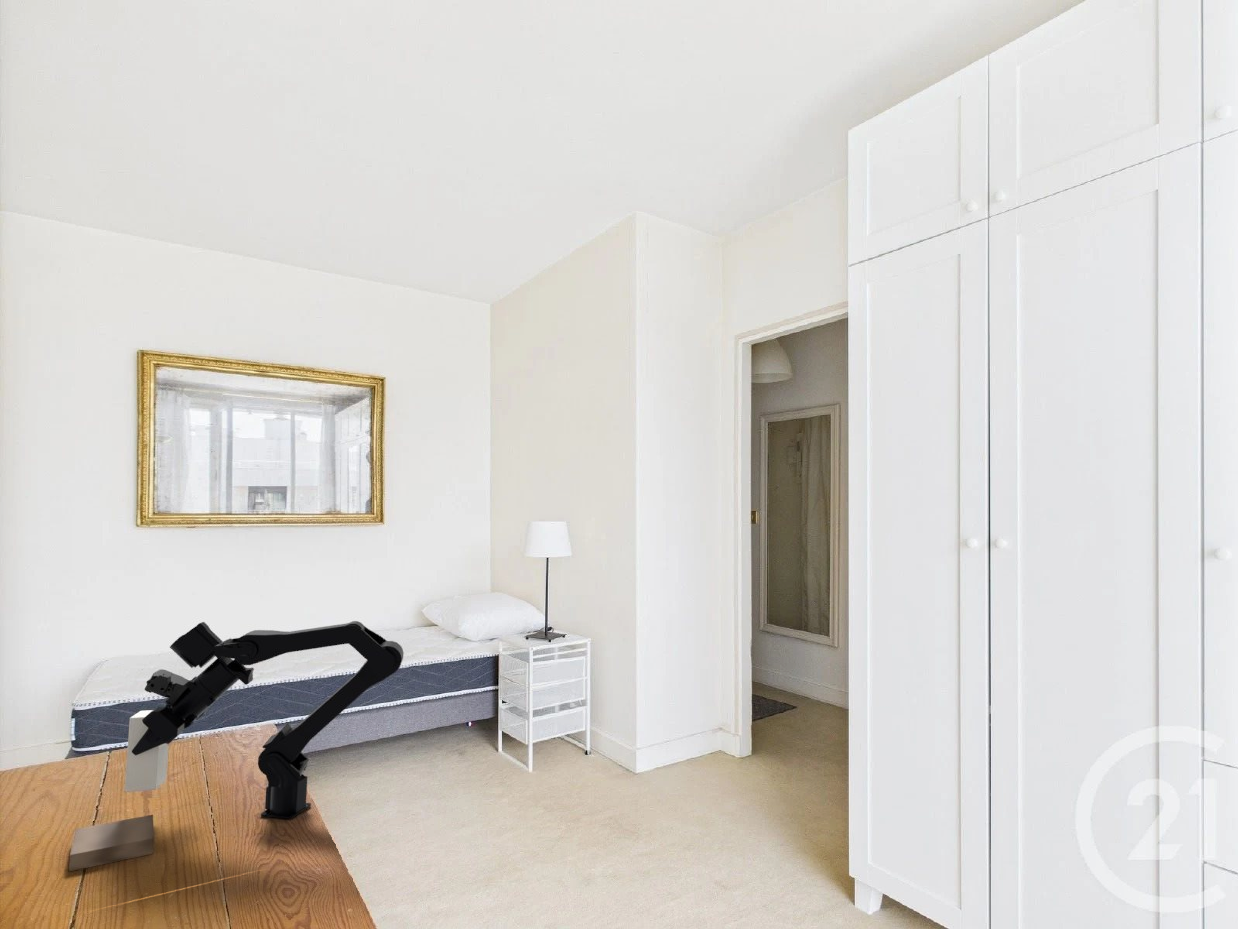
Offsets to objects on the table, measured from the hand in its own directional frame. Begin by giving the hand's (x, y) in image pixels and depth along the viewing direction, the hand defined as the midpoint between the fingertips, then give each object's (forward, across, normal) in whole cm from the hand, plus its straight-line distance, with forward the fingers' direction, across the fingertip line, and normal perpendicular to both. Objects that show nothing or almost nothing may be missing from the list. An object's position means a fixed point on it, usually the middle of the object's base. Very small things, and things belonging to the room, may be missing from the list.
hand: (139, 748), depth 128 cm
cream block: (+4, 0, +6) cm, 7 cm away
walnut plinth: (+9, +11, +10) cm, 17 cm away
